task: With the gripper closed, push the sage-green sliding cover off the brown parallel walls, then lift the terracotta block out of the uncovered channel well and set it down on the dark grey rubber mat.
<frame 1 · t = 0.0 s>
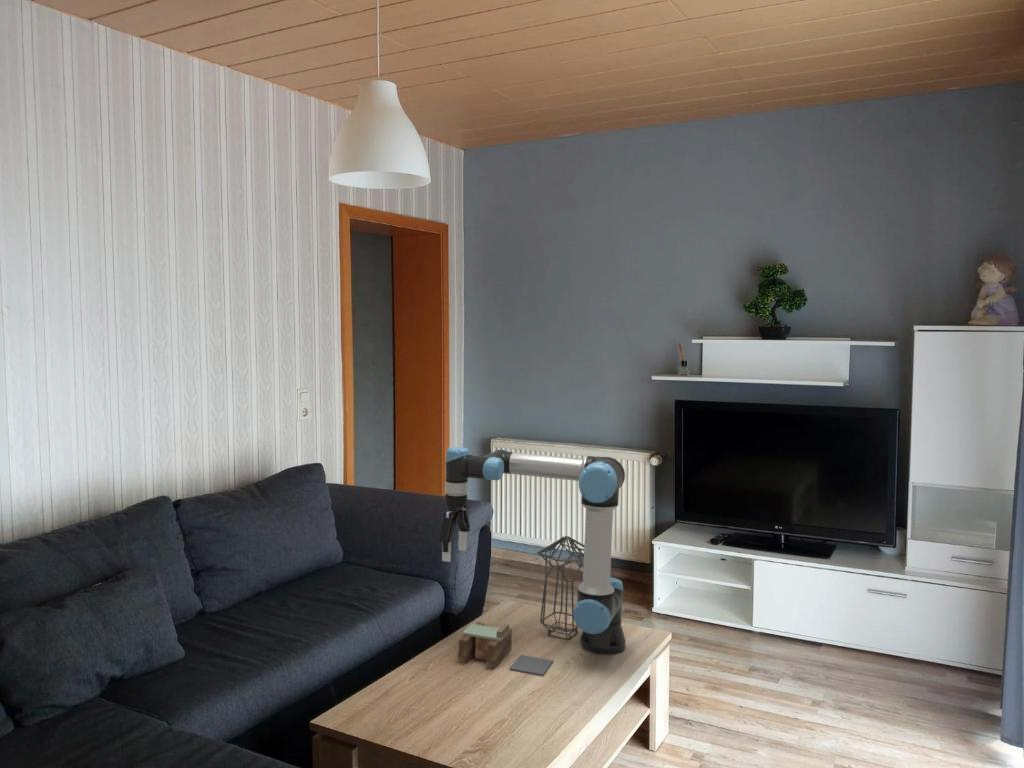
hand: (454, 555, 276), 28 cm above the table, tool pointing down, fingers open, 13 cm apart
geometric lantern: (562, 635, 283), on the table
block: (485, 656, 263), on the table
mat: (531, 666, 257), on the table
brown parallel walls: (485, 656, 263), on the table
cover: (486, 629, 263), point 9 cm above the table, slide at 0.0 cm
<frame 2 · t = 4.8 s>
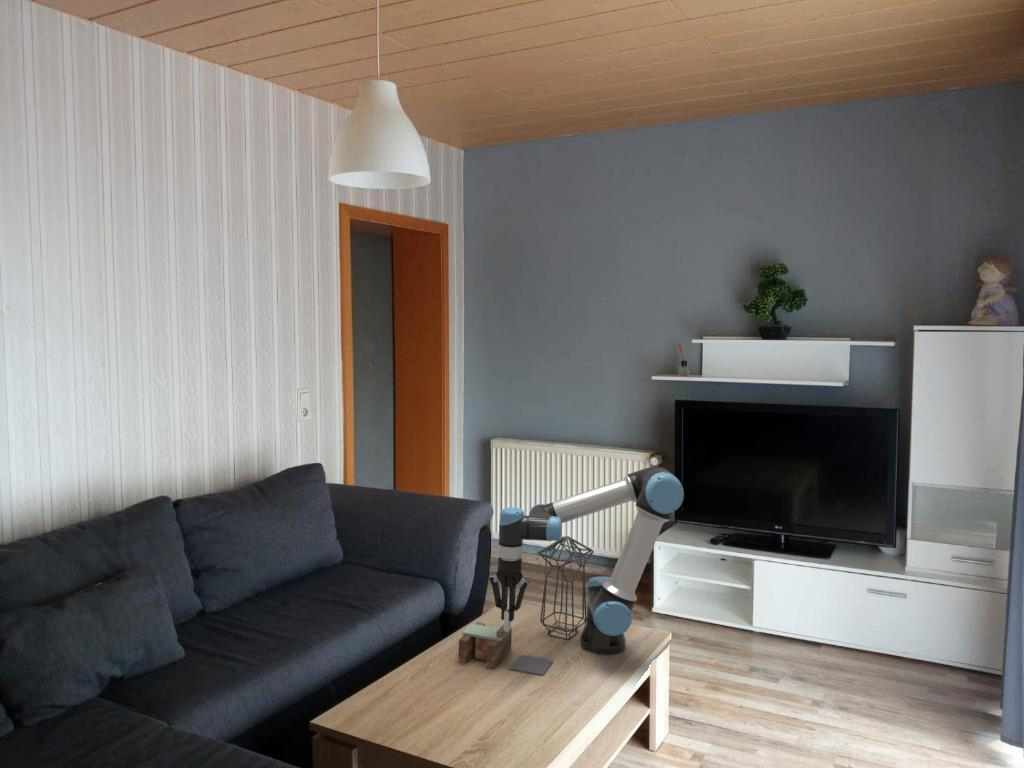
hand: (507, 630, 260), 10 cm above the table, tool pointing down, fingers closed
cover: (486, 629, 263), point 9 cm above the table, slide at 0.0 cm, touching gripper
everything else where it was.
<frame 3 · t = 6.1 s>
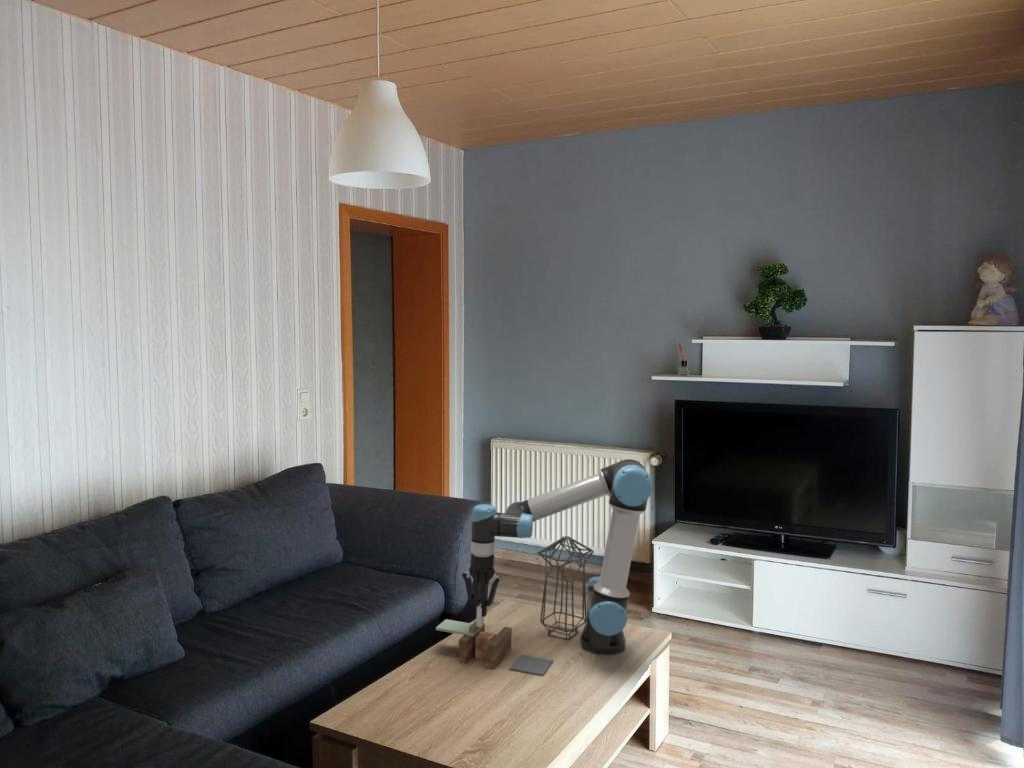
hand: (479, 625, 263), 10 cm above the table, tool pointing down, fingers closed
cover: (459, 624, 266), point 9 cm above the table, slide at 9.3 cm, touching gripper
everything else where it was.
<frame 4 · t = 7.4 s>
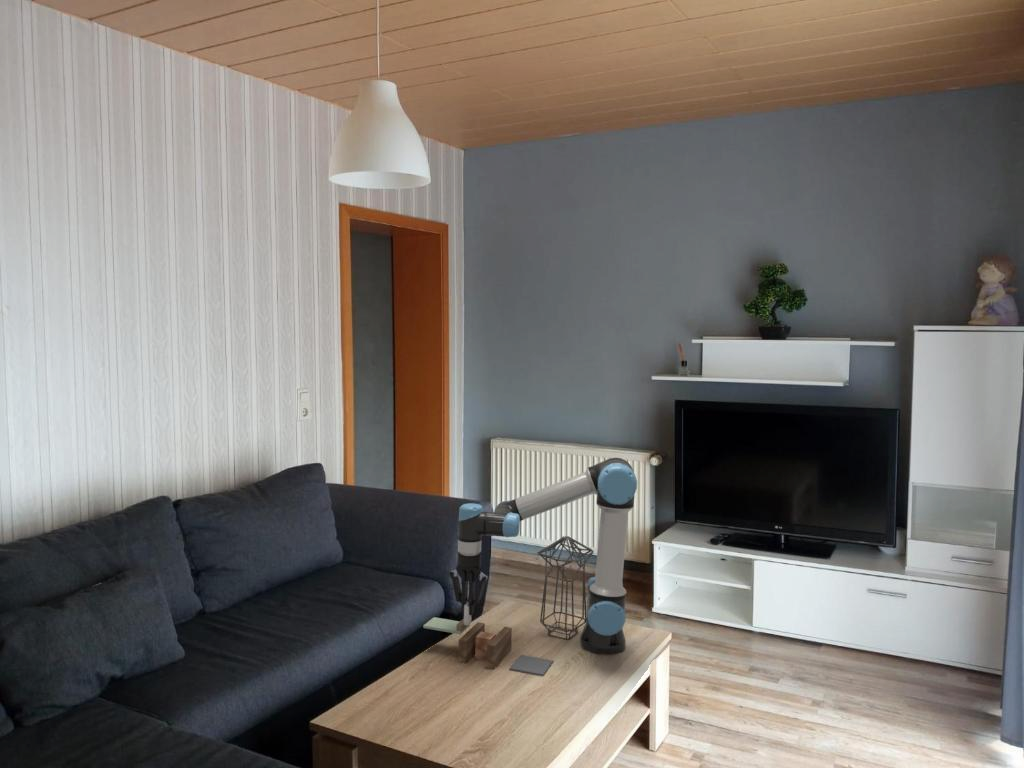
hand: (467, 623, 265), 10 cm above the table, tool pointing down, fingers closed
cover: (446, 622, 267), point 9 cm above the table, slide at 13.7 cm, touching gripper
everything else where it was.
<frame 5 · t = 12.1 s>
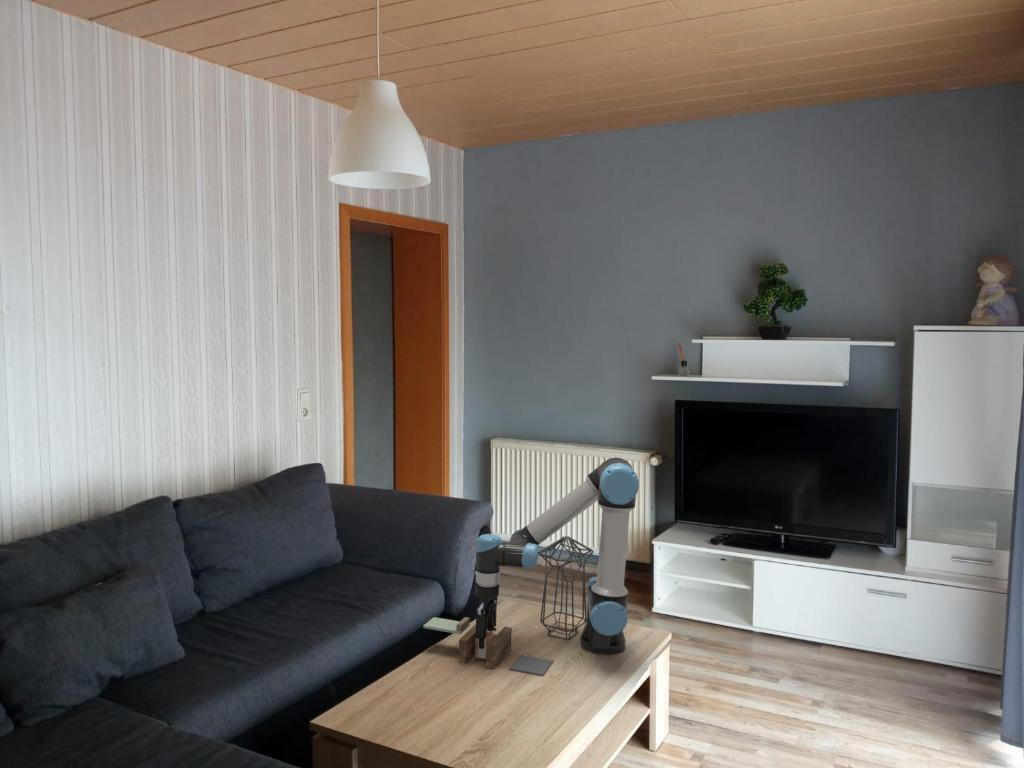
hand: (485, 653, 263), 1 cm above the table, tool pointing down, fingers closed on block, 5 cm apart
block: (485, 656, 263), on the table, touching gripper
cover: (446, 622, 267), point 9 cm above the table, slide at 13.7 cm
everything else where it was.
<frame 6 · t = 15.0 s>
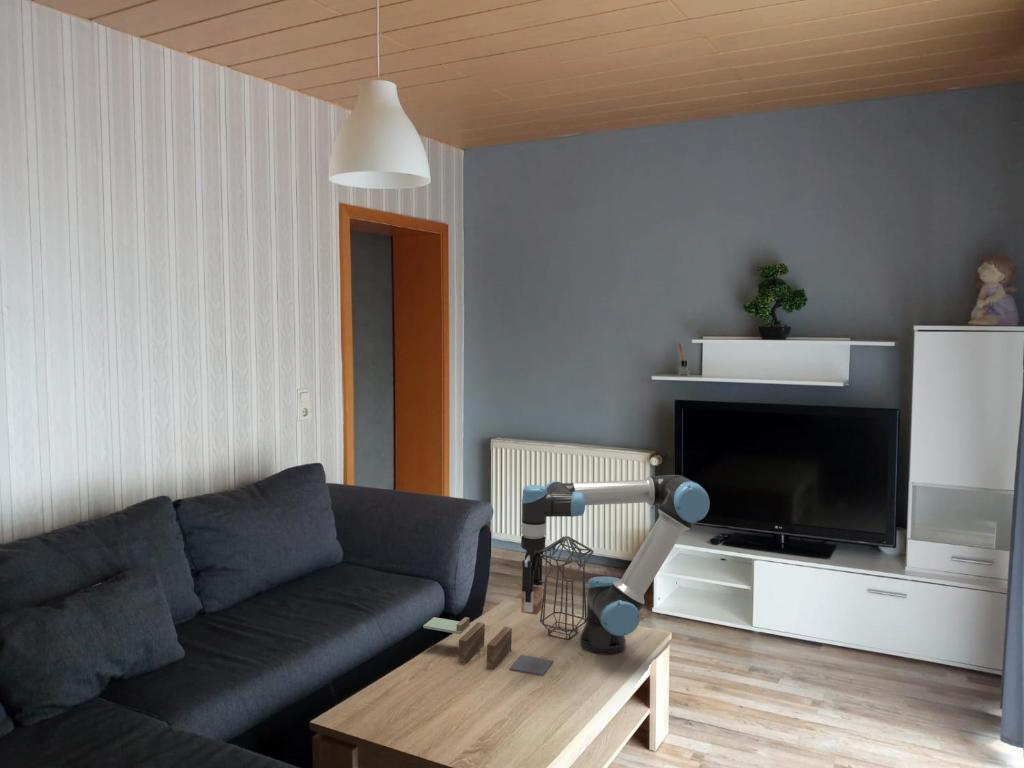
hand: (531, 608, 256), 18 cm above the table, tool pointing down, fingers closed on block, 5 cm apart
block: (531, 610, 256), point 18 cm above the table, touching gripper
everything else where it was.
when the fingers open (3 cm above the table, at t = 18.5 s): block drops 1 cm, resting on mat.
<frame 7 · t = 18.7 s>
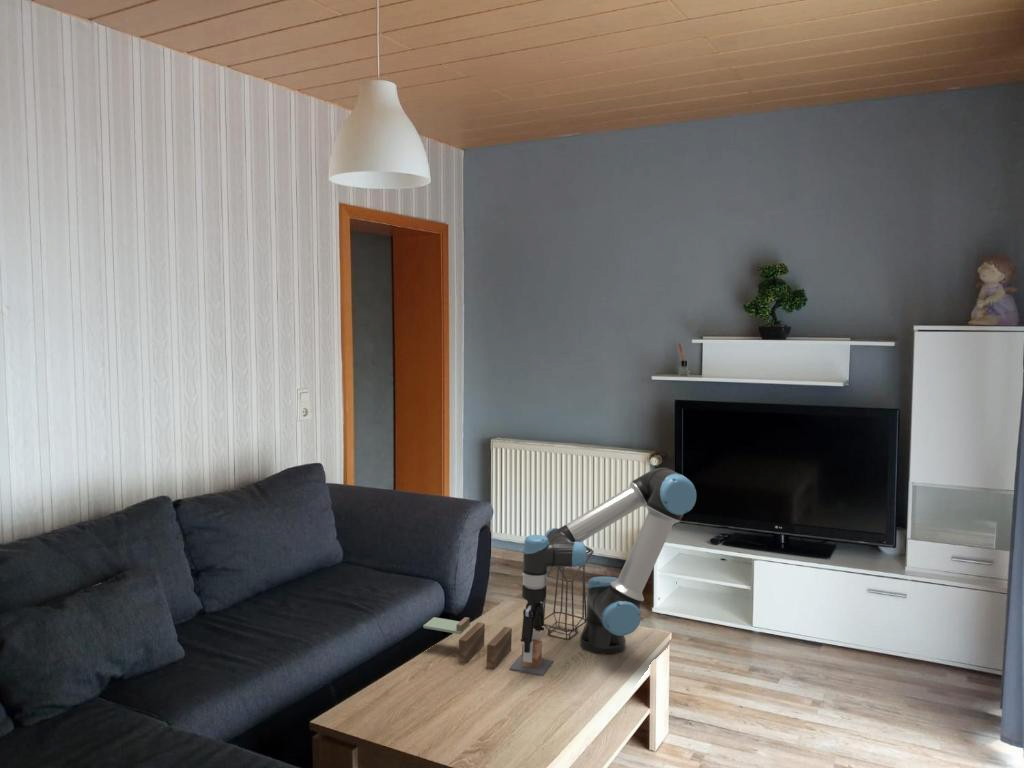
hand: (531, 656, 257), 3 cm above the table, tool pointing down, fingers open, 8 cm apart
block: (531, 664, 257), point 1 cm above the table, touching mat
everything else where it was.
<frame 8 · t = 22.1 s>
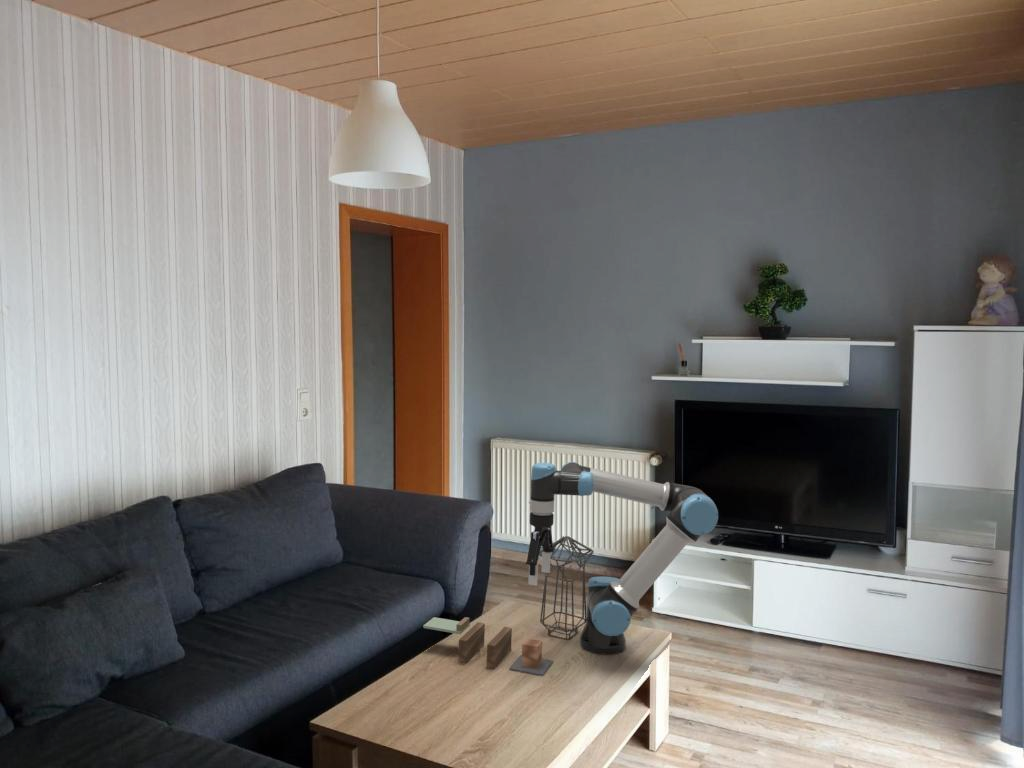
hand: (539, 578, 260), 27 cm above the table, tool pointing down, fingers open, 13 cm apart
nothing on the table moved.
at the end: cover slide at 13.7 cm; block inside the target area on the mat (0.0 cm from its centre), point 0.6 cm above the mat's base; block tilted 0° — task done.
